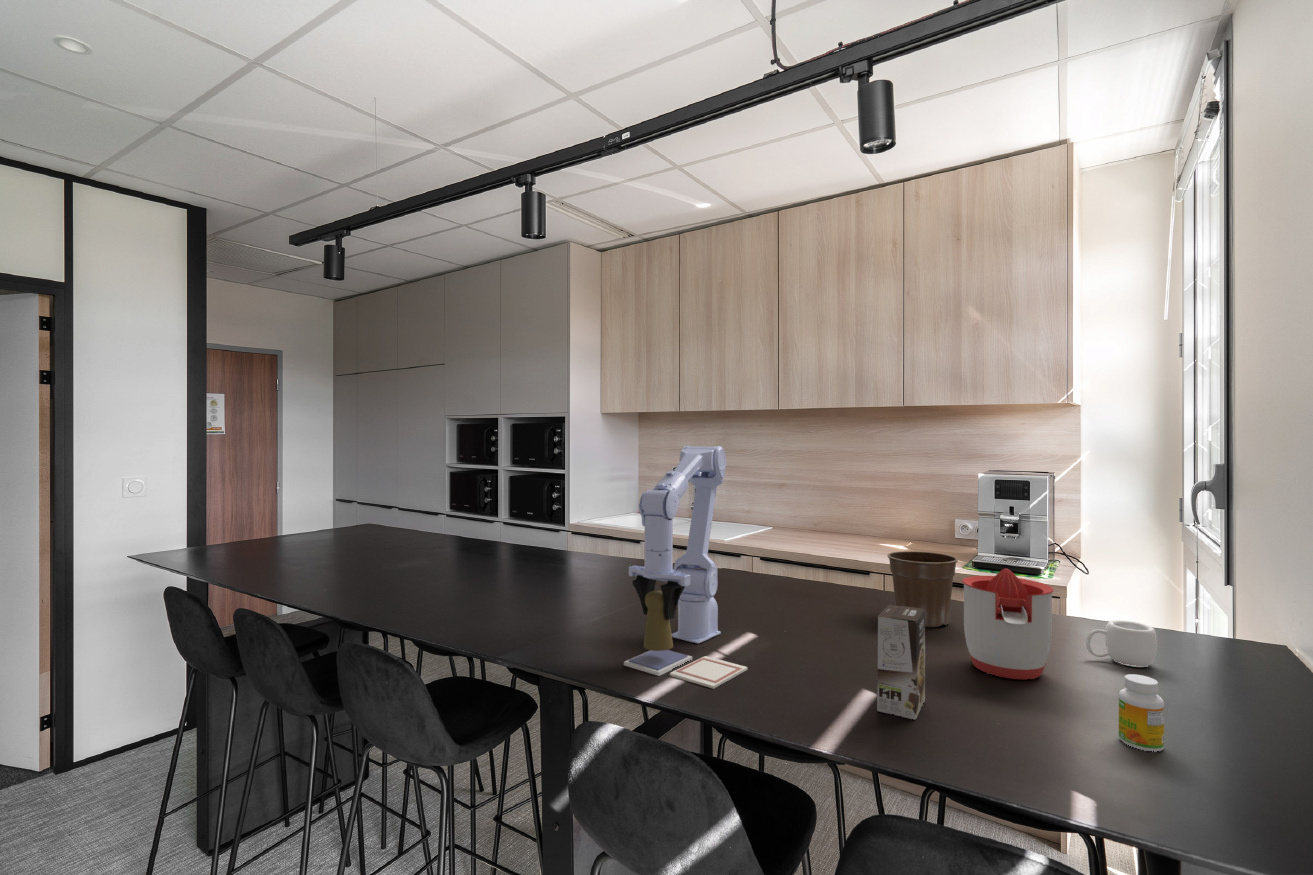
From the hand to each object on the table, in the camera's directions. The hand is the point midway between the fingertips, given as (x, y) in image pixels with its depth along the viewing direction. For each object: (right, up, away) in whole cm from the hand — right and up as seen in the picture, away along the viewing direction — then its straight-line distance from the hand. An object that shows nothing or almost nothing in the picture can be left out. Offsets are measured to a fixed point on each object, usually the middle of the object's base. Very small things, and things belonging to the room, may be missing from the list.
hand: (658, 615), depth 127 cm
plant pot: (+66, -10, +29) cm, 73 cm away
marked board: (+10, -9, -5) cm, 15 cm away
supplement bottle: (+72, -10, -34) cm, 80 cm away
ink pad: (0, -9, 0) cm, 9 cm away
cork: (0, -6, -1) cm, 6 cm away
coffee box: (+41, -10, -20) cm, 47 cm away
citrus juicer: (+68, -10, -5) cm, 69 cm away
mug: (+94, -10, 0) cm, 94 cm away
